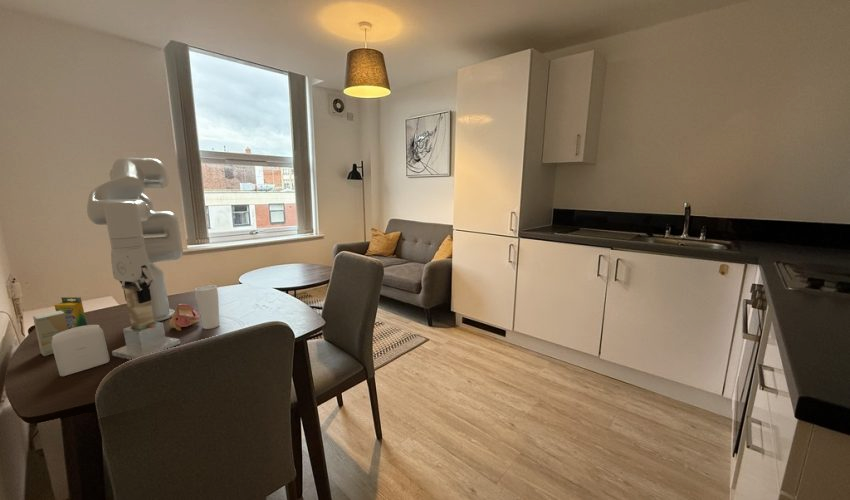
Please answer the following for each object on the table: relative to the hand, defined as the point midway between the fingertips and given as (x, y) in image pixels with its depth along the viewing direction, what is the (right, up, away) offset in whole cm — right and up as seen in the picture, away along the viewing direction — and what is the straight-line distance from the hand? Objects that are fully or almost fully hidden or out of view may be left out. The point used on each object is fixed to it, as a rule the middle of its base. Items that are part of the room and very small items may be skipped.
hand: (138, 300), depth 102 cm
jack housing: (0, -16, +3) cm, 16 cm away
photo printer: (-9, -18, -7) cm, 22 cm away
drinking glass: (+10, -13, +20) cm, 26 cm away
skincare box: (-28, -17, +3) cm, 33 cm away
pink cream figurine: (0, -13, +21) cm, 24 cm away
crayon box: (-40, -13, +19) cm, 46 cm away
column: (0, -9, +2) cm, 9 cm away
